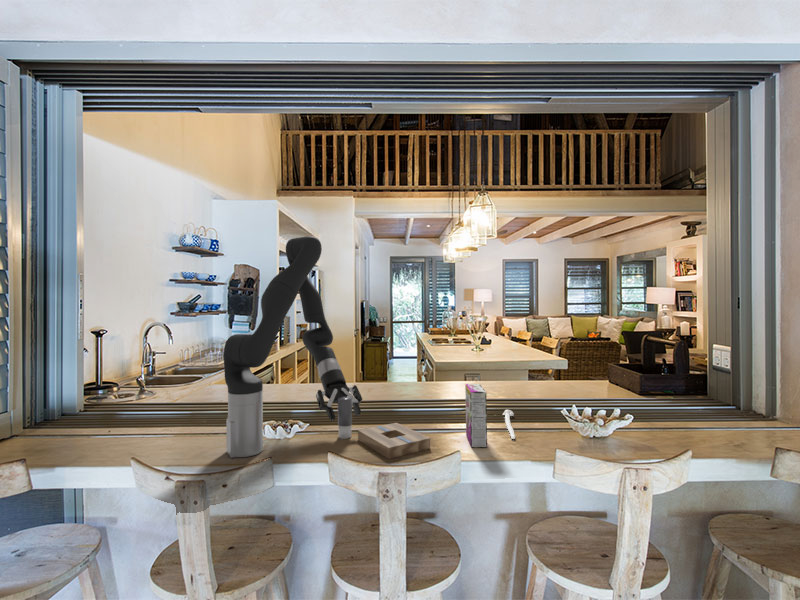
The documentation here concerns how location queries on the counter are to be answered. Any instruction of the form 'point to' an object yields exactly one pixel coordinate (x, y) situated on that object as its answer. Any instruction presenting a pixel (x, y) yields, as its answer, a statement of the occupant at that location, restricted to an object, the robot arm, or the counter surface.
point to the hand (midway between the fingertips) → (346, 417)
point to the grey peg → (345, 417)
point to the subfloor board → (393, 440)
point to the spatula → (507, 421)
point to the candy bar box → (476, 415)
